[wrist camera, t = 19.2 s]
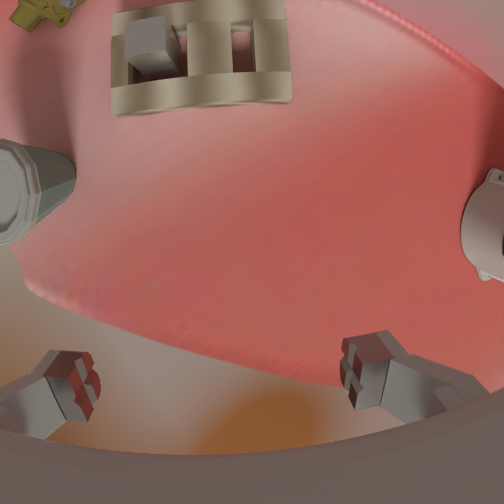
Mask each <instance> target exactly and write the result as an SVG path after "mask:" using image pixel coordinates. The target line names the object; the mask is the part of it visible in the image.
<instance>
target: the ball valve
mask: <svg viewBox="0 0 504 504" xmlns="http://www.w3.org/2000/svg"><path fill="white" fill-rule="evenodd" d="M85 1H86V0H19V1H18V2H17V3H18V4H19V6H18V7H17V9H16V10H15V11H14V13H13V14H12V15H11V17H10V18H9V20H10V21H12V22H13V23H15V24H16V25H18V26H20V27H21V28H23V29H25V30H26V31H29V32H32V31H33V29H34V28H35V27H36V25H37V24H38V23H39V22H40V20H41V19H43V20H45V19H46V18H48V19H49V20H50V21H51V22H53V23H54V24H55V25H56V26H58V27H59V28H61V27H63V26H64V25H66V24H67V22H68V19H69V16H70V14H71V12H72V10H73V9H74V7H75V6H77V5H79V4H81V3H83V2H85ZM62 18H63V19H62ZM60 19H62V20H60Z"/></svg>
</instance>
